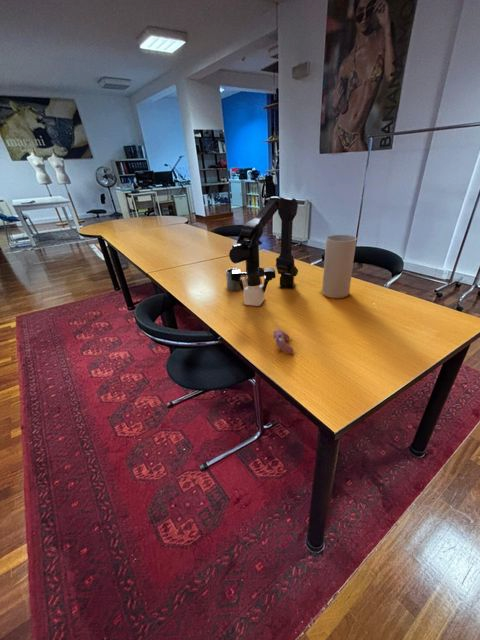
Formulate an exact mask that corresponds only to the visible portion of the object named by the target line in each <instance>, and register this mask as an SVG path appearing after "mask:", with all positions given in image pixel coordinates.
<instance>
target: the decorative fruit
mask: <svg viewBox="0 0 480 640" xmlns="http://www.w3.org/2000/svg"><path fill="white" fill-rule="evenodd" d="M246 278H247V277H243V279H242V281H243V286H244V289H245V288H246V287H247V284H246ZM262 283H263V279H262V277H260V285H263V284H262Z"/></svg>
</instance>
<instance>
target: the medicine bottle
mask: <svg viewBox="0 0 480 640" xmlns="http://www.w3.org/2000/svg"><path fill="white" fill-rule="evenodd" d="M246 284H247V287H246V288H244V290H243V291H242V293H243V292H244V294H243V302H244V305H245V306H252V307H253V306H255V307H260V306H261V305H262V303H263V302H264V301H265V293H264V291H263V287H264V284H261V285H260V280H258V281H256V280H254V281H248V277H247V278H246Z"/></svg>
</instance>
